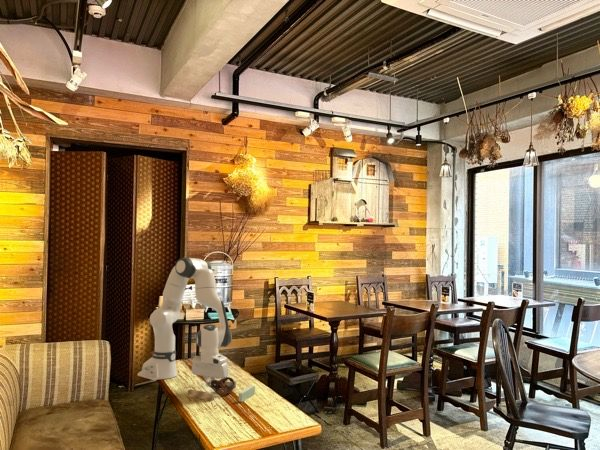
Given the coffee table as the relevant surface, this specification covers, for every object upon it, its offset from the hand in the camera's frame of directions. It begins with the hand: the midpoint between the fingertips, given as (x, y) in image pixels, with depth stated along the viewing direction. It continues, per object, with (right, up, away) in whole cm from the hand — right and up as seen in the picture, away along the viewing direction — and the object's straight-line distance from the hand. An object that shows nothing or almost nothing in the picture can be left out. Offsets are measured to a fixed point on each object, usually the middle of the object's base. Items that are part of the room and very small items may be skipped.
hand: (209, 385), depth 231 cm
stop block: (+20, -3, -9) cm, 22 cm away
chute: (+2, -3, -1) cm, 4 cm away
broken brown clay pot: (+7, -4, -1) cm, 8 cm away
